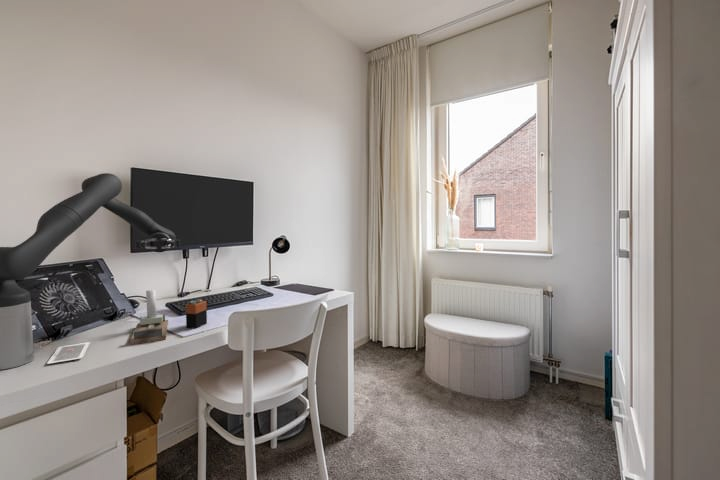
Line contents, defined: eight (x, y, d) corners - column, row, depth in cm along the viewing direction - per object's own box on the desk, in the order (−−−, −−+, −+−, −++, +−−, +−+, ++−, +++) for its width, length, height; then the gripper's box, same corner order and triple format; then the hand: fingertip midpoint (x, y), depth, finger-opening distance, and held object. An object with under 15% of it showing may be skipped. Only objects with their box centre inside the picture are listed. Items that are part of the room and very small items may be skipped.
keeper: (140, 325, 123) (139, 292, 123) (141, 322, 127) (140, 290, 126) (162, 322, 127) (161, 290, 126) (163, 319, 130) (162, 288, 130)
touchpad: (90, 345, 111) (90, 338, 111) (82, 361, 99) (82, 354, 98) (59, 350, 107) (58, 343, 107) (46, 367, 95) (46, 360, 94)
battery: (185, 328, 128) (184, 302, 127) (197, 322, 134) (197, 297, 134) (195, 328, 127) (195, 302, 126) (207, 323, 133) (206, 298, 133)
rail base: (130, 344, 111) (130, 332, 110) (137, 327, 128) (137, 316, 128) (165, 339, 115) (165, 328, 115) (168, 323, 133) (167, 313, 133)
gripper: (138, 233, 131) (133, 234, 117) (180, 232, 138) (179, 234, 124) (139, 252, 132) (134, 256, 117) (180, 250, 138) (180, 254, 124)
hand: (157, 244), depth 121 cm, fingers open, 8 cm apart
